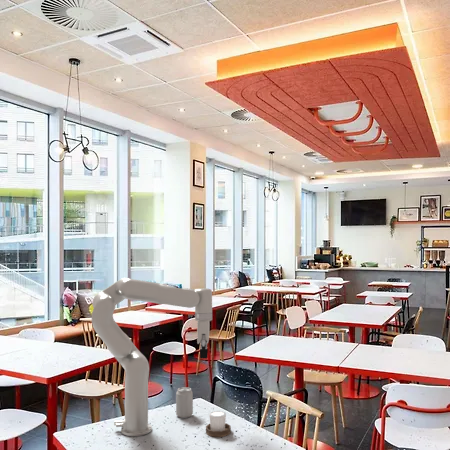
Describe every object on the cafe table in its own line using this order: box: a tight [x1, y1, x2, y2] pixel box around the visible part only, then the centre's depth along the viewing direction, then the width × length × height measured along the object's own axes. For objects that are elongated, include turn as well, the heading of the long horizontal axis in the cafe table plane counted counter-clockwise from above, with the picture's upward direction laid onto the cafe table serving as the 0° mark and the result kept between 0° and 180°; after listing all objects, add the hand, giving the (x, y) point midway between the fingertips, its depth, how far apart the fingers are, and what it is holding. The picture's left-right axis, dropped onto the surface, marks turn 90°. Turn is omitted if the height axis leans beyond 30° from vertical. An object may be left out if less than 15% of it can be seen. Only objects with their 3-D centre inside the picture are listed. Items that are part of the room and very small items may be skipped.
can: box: [175, 386, 194, 419], centre depth 220 cm, size 8×8×12 cm
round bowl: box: [205, 422, 232, 438], centre depth 200 cm, size 10×10×2 cm
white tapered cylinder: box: [208, 410, 227, 431], centre depth 200 cm, size 7×7×7 cm
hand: (203, 355), depth 214 cm, fingers open, 9 cm apart
